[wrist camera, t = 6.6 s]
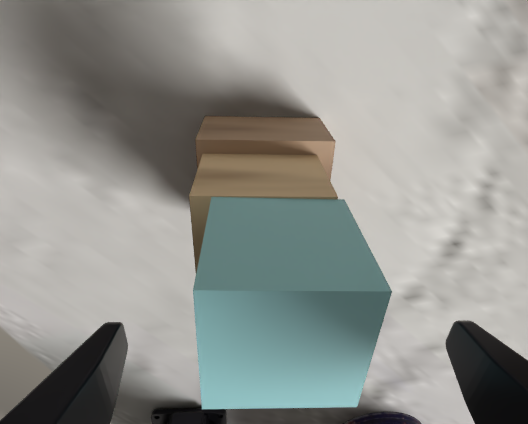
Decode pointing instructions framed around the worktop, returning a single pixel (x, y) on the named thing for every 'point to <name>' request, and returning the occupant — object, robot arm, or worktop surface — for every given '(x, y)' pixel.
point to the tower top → (253, 183)
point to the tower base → (266, 137)
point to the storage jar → (384, 419)
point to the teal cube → (285, 304)
